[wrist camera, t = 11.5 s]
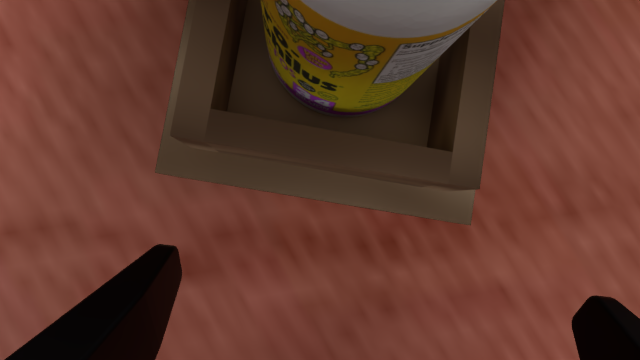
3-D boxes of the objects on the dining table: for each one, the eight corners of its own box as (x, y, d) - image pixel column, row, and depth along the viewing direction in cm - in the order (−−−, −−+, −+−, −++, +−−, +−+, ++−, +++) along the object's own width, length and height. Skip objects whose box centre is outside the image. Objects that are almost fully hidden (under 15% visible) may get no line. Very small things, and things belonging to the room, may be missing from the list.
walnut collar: (462, 224, 18) (508, 229, 14) (161, 173, 17) (124, 165, 13) (500, -56, 19) (552, -120, 15) (218, -118, 18) (199, -202, 14)
